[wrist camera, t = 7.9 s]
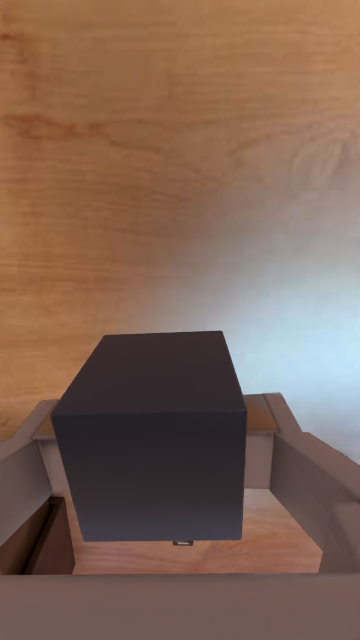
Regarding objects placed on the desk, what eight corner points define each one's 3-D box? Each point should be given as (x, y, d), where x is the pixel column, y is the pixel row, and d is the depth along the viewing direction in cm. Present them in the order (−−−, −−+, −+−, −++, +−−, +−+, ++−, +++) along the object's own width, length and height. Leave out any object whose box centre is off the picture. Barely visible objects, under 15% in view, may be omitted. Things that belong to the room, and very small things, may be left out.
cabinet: (-15, 494, 34) (-97, 607, 24) (64, 497, 34) (15, 611, 24) (5, 561, 39) (-56, 678, 29) (75, 564, 39) (38, 682, 29)
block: (119, 428, 11) (82, 543, 7) (104, 334, 9) (47, 414, 5) (222, 425, 10) (242, 541, 7) (222, 329, 9) (248, 408, 5)
